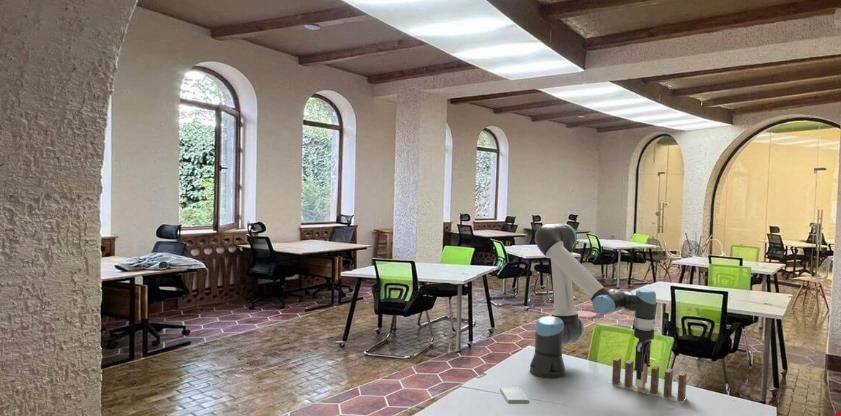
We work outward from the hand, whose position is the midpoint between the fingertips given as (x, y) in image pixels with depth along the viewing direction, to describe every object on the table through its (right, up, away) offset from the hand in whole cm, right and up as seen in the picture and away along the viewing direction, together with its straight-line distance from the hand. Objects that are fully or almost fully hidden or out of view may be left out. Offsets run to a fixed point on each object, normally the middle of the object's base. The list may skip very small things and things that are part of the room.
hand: (641, 384), depth 215 cm
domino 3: (0, -2, 0) cm, 2 cm away
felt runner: (+2, -2, -1) cm, 3 cm away
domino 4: (+4, -2, -3) cm, 5 cm away
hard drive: (-54, -2, -11) cm, 55 cm away
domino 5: (+8, -2, -6) cm, 10 cm away
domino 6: (+12, -3, -9) cm, 15 cm away
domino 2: (-4, -2, +3) cm, 5 cm away
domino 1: (-8, -1, +6) cm, 10 cm away
